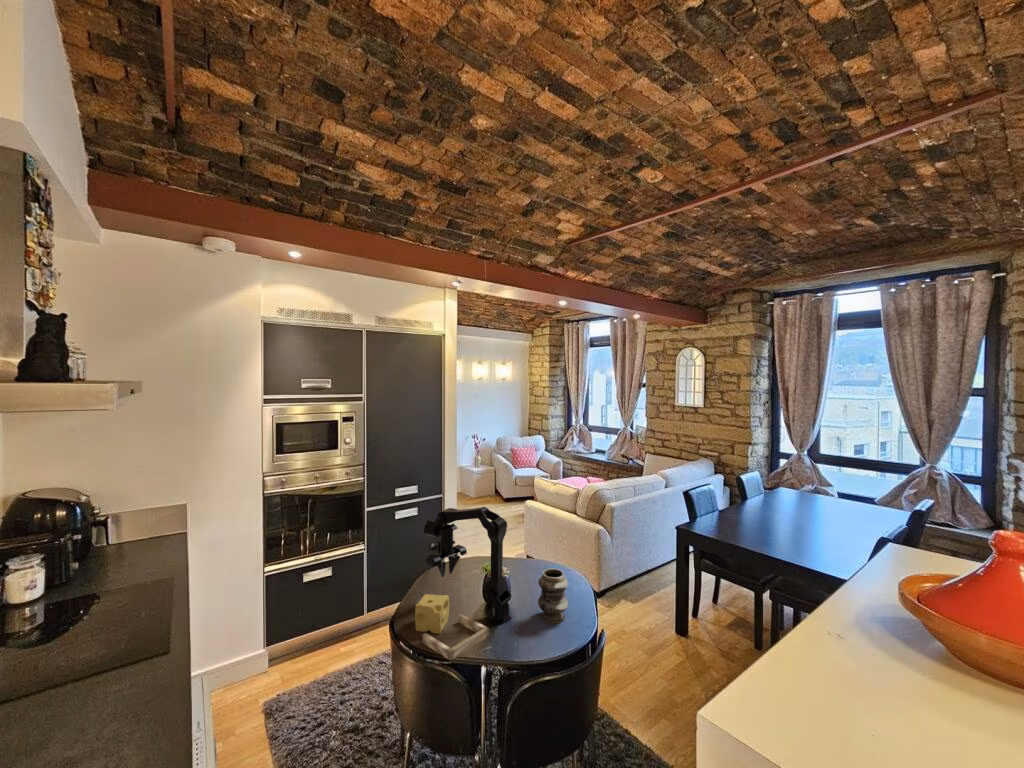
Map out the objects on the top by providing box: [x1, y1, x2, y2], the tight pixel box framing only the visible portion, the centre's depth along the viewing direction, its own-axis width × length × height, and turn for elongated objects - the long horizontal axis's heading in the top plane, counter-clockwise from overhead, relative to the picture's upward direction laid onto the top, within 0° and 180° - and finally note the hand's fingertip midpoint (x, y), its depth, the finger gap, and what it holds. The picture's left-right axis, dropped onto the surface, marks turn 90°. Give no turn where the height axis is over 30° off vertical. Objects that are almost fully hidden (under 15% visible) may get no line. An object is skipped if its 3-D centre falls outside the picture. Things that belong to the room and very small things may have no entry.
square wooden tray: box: [422, 613, 490, 661], centre depth 161 cm, size 16×19×3 cm
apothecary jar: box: [537, 567, 569, 624], centre depth 176 cm, size 12×12×18 cm
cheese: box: [414, 593, 450, 635], centre depth 170 cm, size 10×11×10 cm
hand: (446, 575), depth 187 cm, fingers open, 4 cm apart
